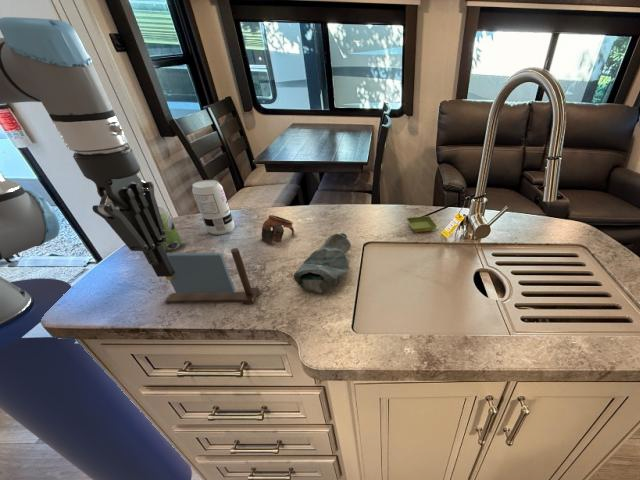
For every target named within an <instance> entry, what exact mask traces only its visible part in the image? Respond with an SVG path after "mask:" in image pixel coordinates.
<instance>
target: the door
mask: <svg viewBox="0 0 640 480" xmlns="http://www.w3.org/2000/svg"><path fill="white" fill-rule="evenodd" d="M167 257H168V259H169V261H170V263H171V265H172V267H173V269H174V271H175V273H174V274H173V275H172V276H170V277H165V279H166V280H168V281H169V282H170V285H171V286H172V288H173V290H174V293H221V292H236V289H235V286H234V283H233V280H232V278H231V277H232V276H231V275H230V272H229V270H228V267H227V263H226V261H225V258H224V256H223V253H222V252H191V253H189V252H188V253H187V252H186V253H184V252H183V253H181V252H179V253H178V252H177V253H167Z"/></svg>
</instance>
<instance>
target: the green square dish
mask: <svg viewBox="0 0 640 480" xmlns="http://www.w3.org/2000/svg"><path fill="white" fill-rule="evenodd" d="M406 221H407V223H408V224H409V226H410V228H411V229H412V231H413V232H414V233H420V232H421V233H422V232H432V231H435V229H437V227H438V225H437V224H436V223H435V221H434V219H433V218H432V217H431V216H430V215H425V216H413V217H411V216H409V217H406Z"/></svg>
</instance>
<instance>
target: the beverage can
mask: <svg viewBox="0 0 640 480" xmlns="http://www.w3.org/2000/svg"><path fill="white" fill-rule="evenodd" d="M158 209H159V212H160V215H161V219H162V222H163V225H164V229H165V232H166V234H165V235H162V238H166V242H165V243H162V245H163V247H164V249H165V251H173V250H176V249H178V248H179V247H180V246H181V245H182V243H183V241H182V239H181V236H180V234H179V232H178V230H177V229H176V226H175V224H174V222H173V220H172V217H171V216H170V213H169V212H168V211H167V210H165V209H164V208H163V207H160V206H158ZM157 229H158V228H157Z"/></svg>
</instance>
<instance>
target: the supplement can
mask: <svg viewBox="0 0 640 480" xmlns="http://www.w3.org/2000/svg"><path fill="white" fill-rule="evenodd" d="M191 193H192V195H193V197H194V200H195V203H196V206H197V208H198V210H199V213H200V215H201V218H202V221H203V224H204V227H205V230H206V231H207V232H208V233H209V234H211V235H217V236H219V235H225V234H229V233H230V232H232V231H233V230H234V228H235V223H234V219H233V216H232V213H231V209H230V207H229V204H228V200H227V197H226V193H225V191H224V187H223V186H222V184H220V182H219V181H218V180H216V179H205V180H199V181H196V182H193V183H192V189H191Z"/></svg>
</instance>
